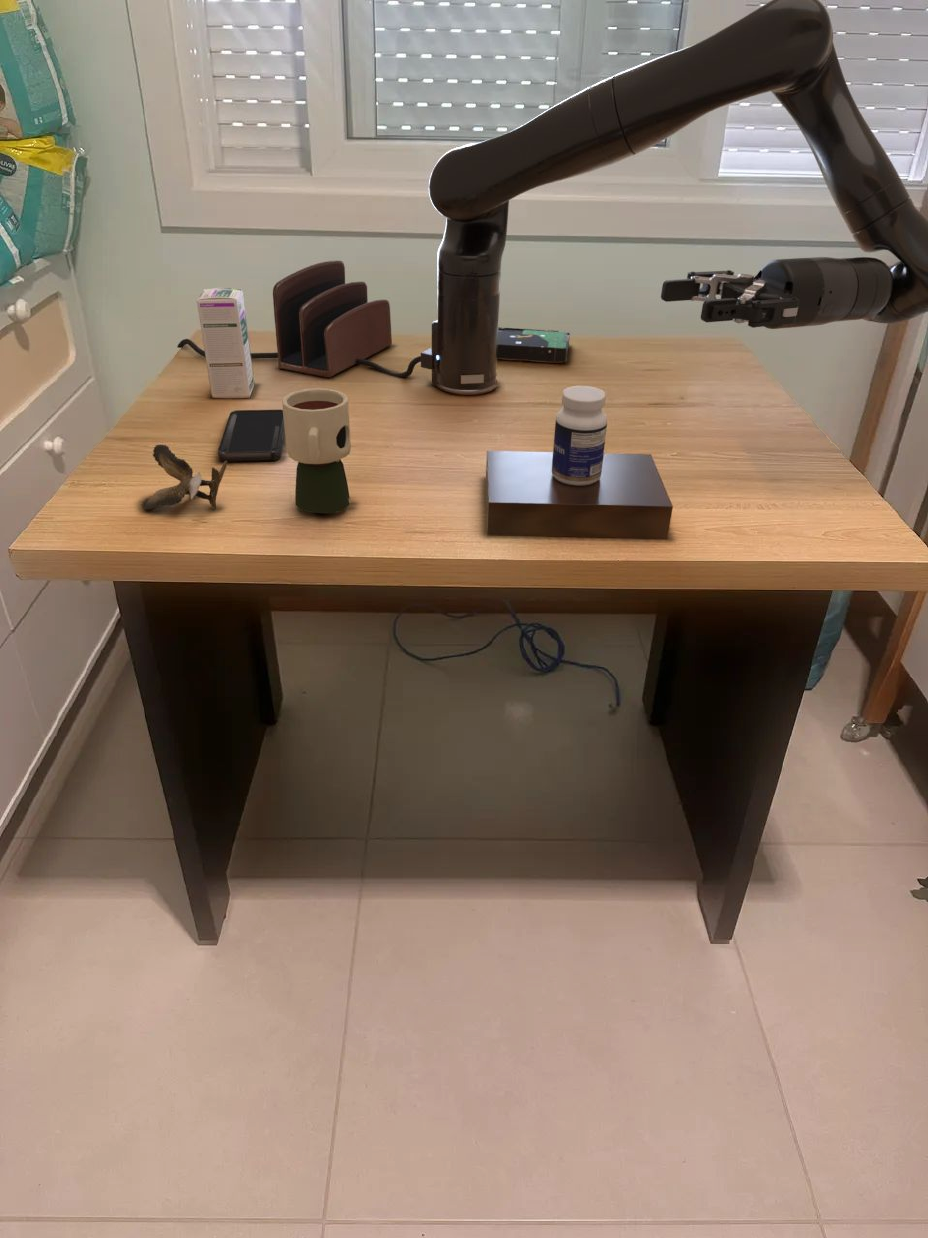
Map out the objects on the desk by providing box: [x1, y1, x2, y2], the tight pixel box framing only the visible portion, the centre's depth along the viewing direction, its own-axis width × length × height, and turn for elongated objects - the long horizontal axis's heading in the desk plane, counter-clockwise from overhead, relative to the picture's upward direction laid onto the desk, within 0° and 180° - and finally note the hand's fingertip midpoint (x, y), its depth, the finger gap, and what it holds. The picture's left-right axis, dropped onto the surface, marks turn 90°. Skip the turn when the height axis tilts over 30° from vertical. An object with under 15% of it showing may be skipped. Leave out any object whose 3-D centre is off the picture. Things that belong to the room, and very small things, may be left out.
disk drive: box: [497, 326, 571, 364], centre depth 152 cm, size 10×3×15 cm
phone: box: [217, 409, 285, 463], centre depth 118 cm, size 8×1×15 cm
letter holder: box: [272, 260, 393, 379], centre depth 144 cm, size 10×20×14 cm, turn 154°
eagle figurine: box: [141, 444, 228, 510], centre depth 101 cm, size 8×7×9 cm
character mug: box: [281, 387, 352, 515], centre depth 99 cm, size 11×7×13 cm, turn 4°
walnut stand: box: [485, 450, 674, 540], centre depth 103 cm, size 20×14×4 cm
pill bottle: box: [552, 385, 608, 486], centre depth 99 cm, size 6×6×10 cm
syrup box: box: [196, 287, 256, 399], centre depth 129 cm, size 6×6×14 cm
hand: (682, 300), depth 98 cm, fingers open, 8 cm apart
